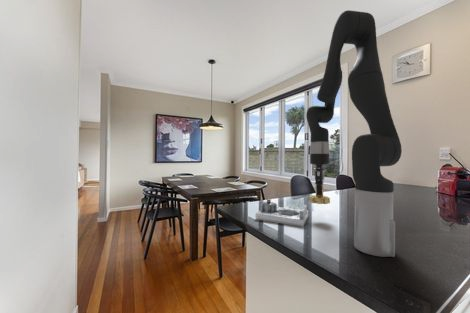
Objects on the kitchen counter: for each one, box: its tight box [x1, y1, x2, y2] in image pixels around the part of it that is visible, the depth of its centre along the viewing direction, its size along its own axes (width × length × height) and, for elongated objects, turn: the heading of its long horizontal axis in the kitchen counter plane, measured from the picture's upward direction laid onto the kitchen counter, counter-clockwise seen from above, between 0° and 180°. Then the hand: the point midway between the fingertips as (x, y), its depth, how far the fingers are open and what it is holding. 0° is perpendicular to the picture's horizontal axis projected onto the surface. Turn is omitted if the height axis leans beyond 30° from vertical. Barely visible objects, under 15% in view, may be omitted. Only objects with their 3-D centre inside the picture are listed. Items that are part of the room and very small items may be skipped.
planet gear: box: [309, 182, 331, 205], centre depth 87 cm, size 8×8×8 cm
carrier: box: [255, 198, 309, 228], centre depth 90 cm, size 19×16×7 cm
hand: (319, 194), depth 87 cm, fingers closed on planet gear, 2 cm apart
